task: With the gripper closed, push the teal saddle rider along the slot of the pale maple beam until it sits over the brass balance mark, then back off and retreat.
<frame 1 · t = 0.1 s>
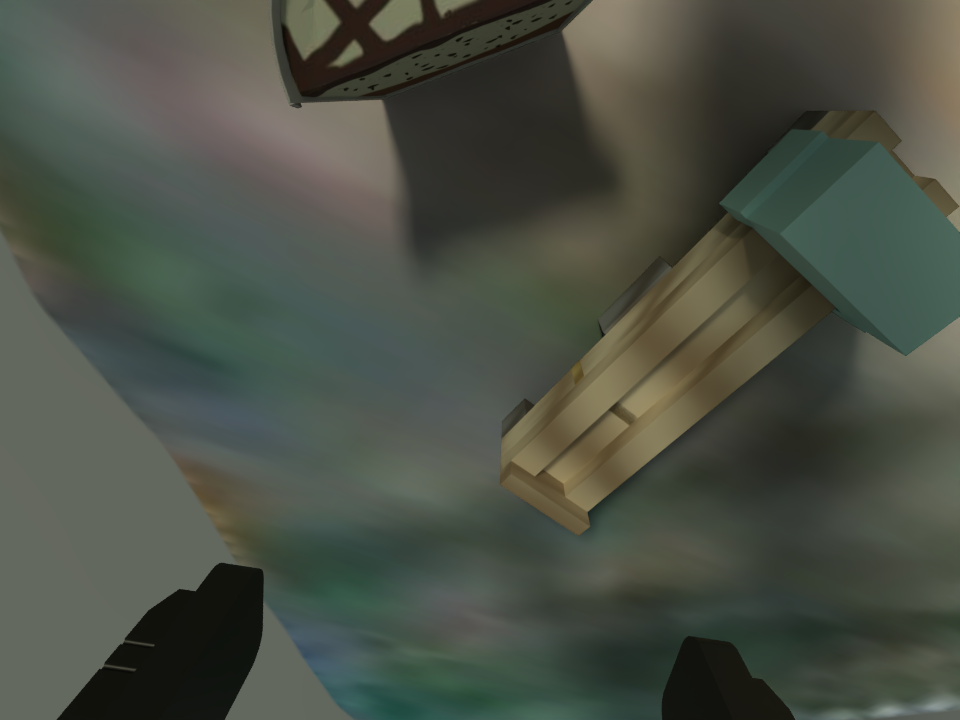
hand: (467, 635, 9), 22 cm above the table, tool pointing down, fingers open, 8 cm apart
rider: (849, 242, 21), point 6 cm above the table, slide at 0.0 cm
beam: (665, 320, 30), on the table
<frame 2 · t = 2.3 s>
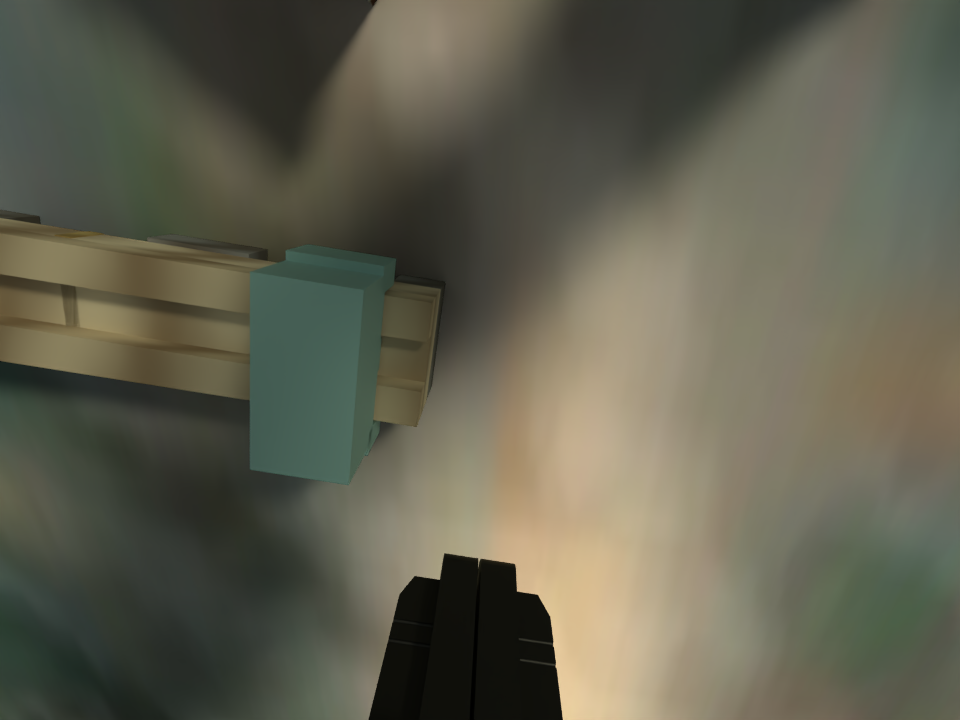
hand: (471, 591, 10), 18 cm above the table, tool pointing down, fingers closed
rider: (327, 362, 21), point 6 cm above the table, slide at 0.0 cm
beam: (221, 300, 27), on the table
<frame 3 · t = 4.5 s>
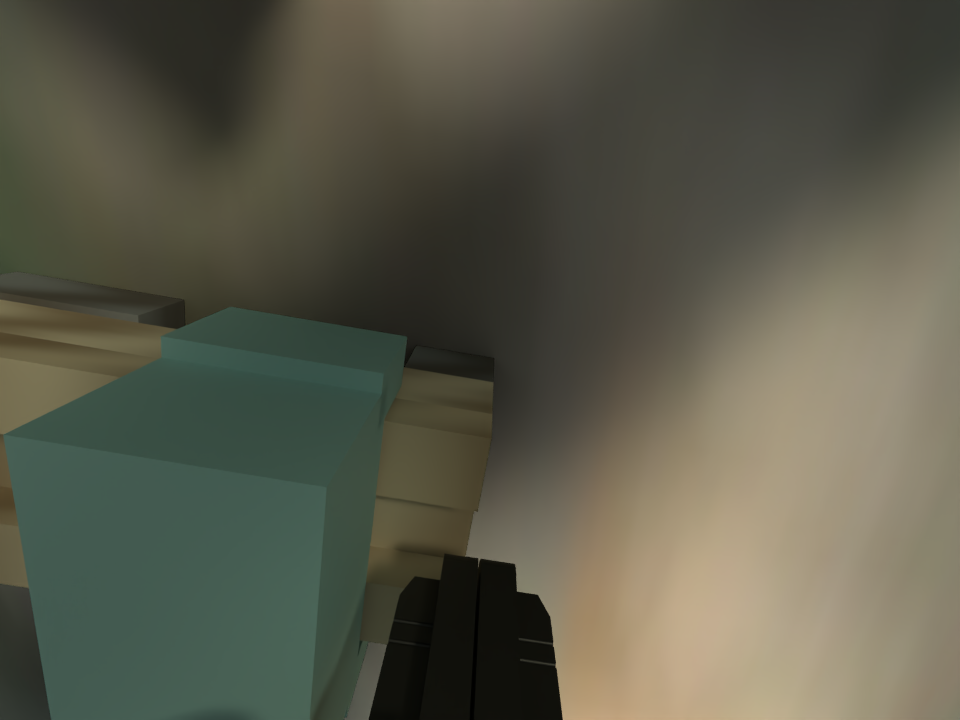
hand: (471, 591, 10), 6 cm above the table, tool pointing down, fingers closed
rider: (260, 564, 10), point 6 cm above the table, slide at 0.2 cm, touching gripper
beam: (109, 383, 16), on the table
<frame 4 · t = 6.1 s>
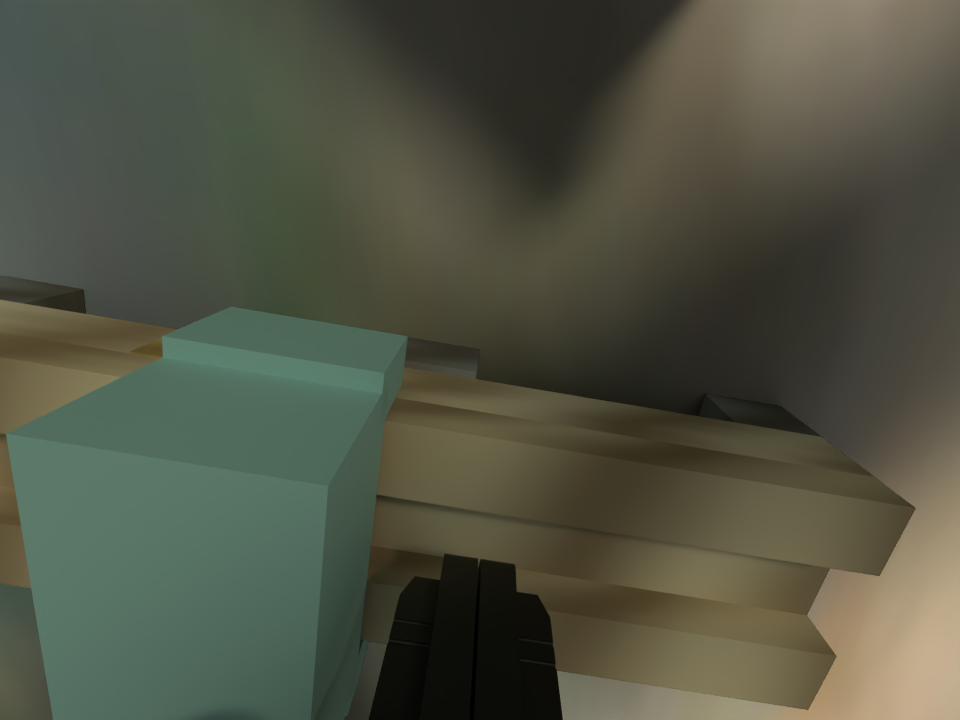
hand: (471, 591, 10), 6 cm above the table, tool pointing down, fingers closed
rider: (261, 563, 10), point 6 cm above the table, slide at 9.2 cm, touching gripper
beam: (387, 429, 16), on the table
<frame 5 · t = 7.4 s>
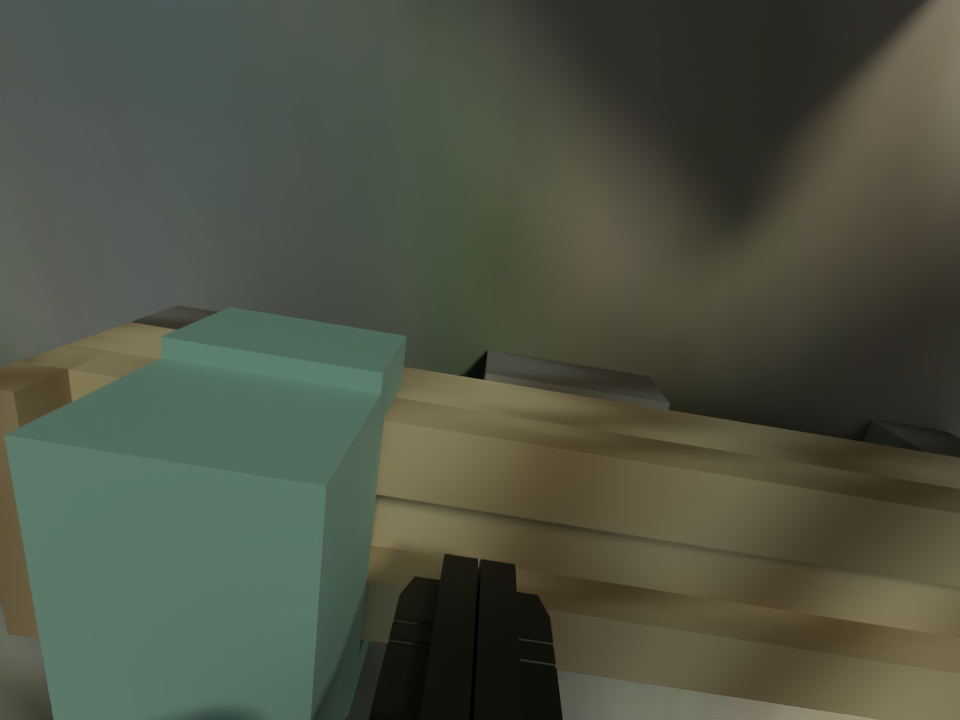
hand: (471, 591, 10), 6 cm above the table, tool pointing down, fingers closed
rider: (261, 563, 10), point 6 cm above the table, slide at 14.5 cm, touching gripper
beam: (547, 454, 16), on the table
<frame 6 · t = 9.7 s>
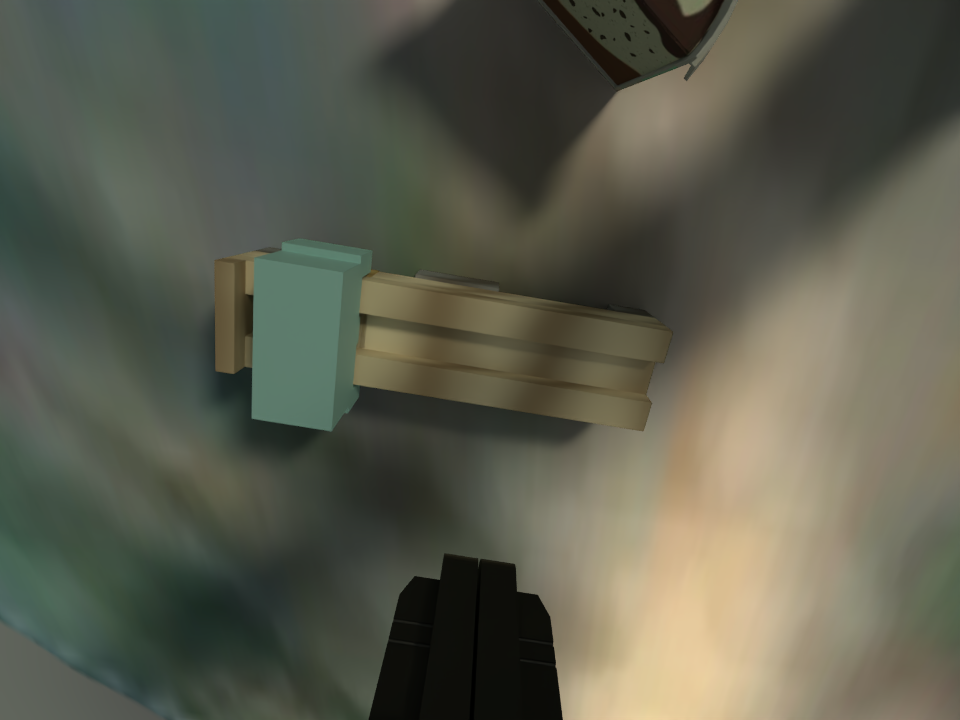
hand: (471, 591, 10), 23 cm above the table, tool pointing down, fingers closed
rider: (314, 334, 26), point 6 cm above the table, slide at 14.8 cm
beam: (452, 324, 32), on the table
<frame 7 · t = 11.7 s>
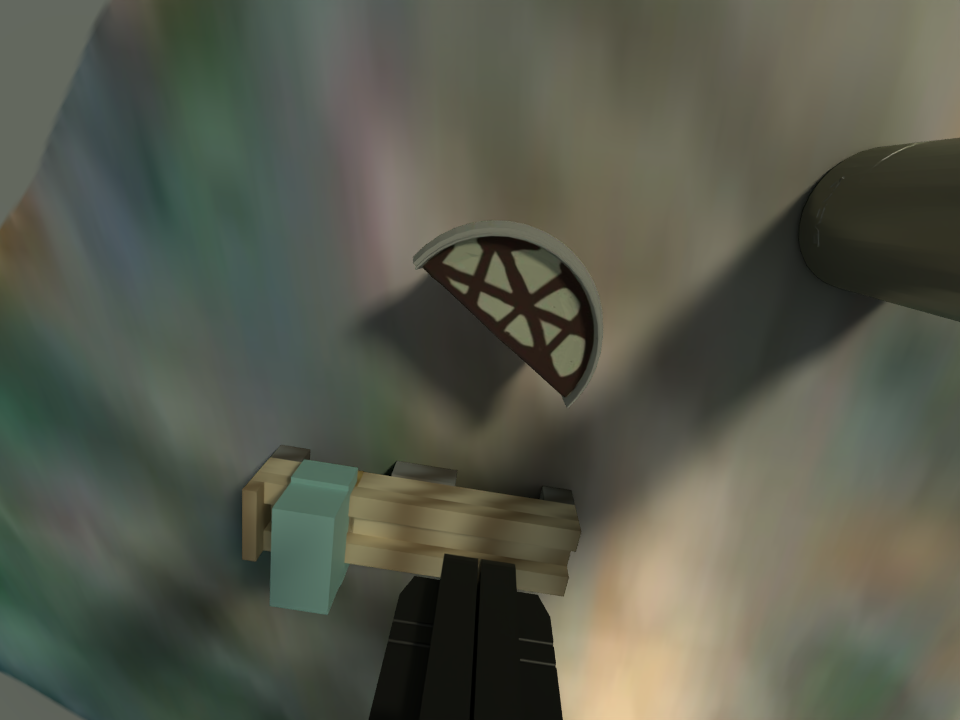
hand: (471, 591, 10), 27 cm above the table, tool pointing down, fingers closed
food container: (525, 271, 35), on the table
rider: (315, 536, 35), point 6 cm above the table, slide at 14.8 cm
beam: (422, 498, 41), on the table
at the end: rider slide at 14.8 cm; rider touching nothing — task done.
